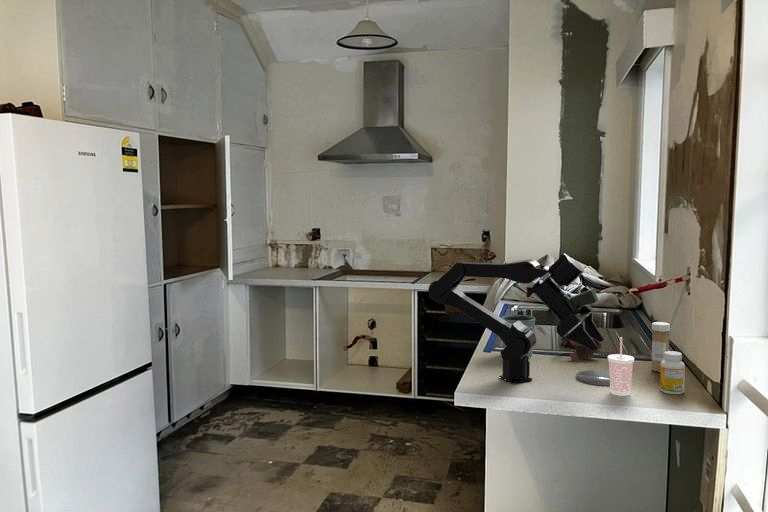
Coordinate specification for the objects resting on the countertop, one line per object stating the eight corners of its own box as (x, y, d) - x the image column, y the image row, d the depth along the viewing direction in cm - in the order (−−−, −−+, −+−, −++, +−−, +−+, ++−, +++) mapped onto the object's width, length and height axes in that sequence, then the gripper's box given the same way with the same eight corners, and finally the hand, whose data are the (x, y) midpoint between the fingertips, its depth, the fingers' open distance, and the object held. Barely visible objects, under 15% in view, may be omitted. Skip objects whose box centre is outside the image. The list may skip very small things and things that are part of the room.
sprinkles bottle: (672, 371, 166) (673, 323, 164) (662, 374, 163) (664, 325, 162) (657, 367, 169) (658, 320, 168) (647, 370, 167) (648, 322, 166)
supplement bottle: (663, 386, 152) (664, 349, 152) (686, 390, 149) (687, 352, 148) (657, 392, 148) (658, 353, 147) (681, 396, 145) (682, 356, 144)
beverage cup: (602, 393, 148) (603, 337, 147) (613, 387, 153) (614, 333, 151) (627, 398, 144) (628, 341, 143) (637, 392, 148) (638, 336, 147)
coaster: (599, 388, 152) (599, 386, 152) (566, 376, 163) (566, 374, 163) (634, 381, 157) (634, 379, 157) (600, 370, 168) (600, 368, 168)
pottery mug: (561, 362, 179) (555, 335, 182) (566, 368, 187) (561, 343, 190) (602, 354, 175) (596, 327, 178) (606, 361, 183) (600, 335, 186)
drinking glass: (499, 358, 182) (499, 319, 181) (503, 350, 192) (503, 313, 191) (534, 360, 179) (534, 321, 178) (536, 352, 189) (536, 314, 188)
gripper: (570, 282, 143) (618, 331, 138) (584, 273, 159) (628, 317, 155) (537, 312, 147) (583, 361, 143) (554, 300, 163) (596, 344, 159)
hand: (599, 344), depth 150 cm, fingers open, 9 cm apart
